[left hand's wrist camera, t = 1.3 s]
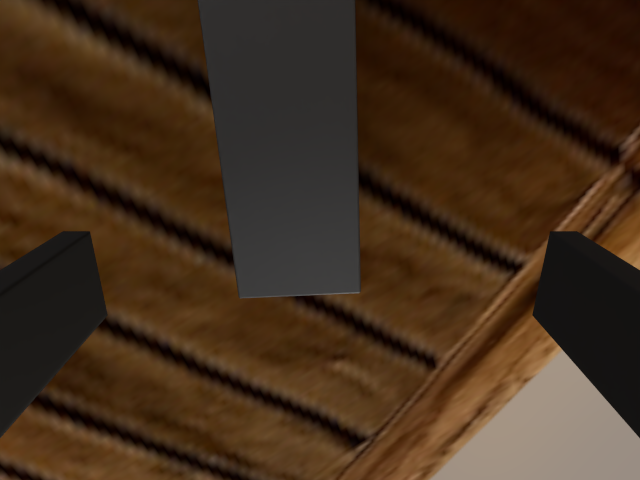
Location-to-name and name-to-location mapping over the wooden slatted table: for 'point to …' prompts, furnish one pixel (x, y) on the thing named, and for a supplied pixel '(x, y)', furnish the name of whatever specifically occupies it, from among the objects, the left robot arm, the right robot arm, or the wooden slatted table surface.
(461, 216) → the wooden slatted table surface
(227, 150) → the bar
